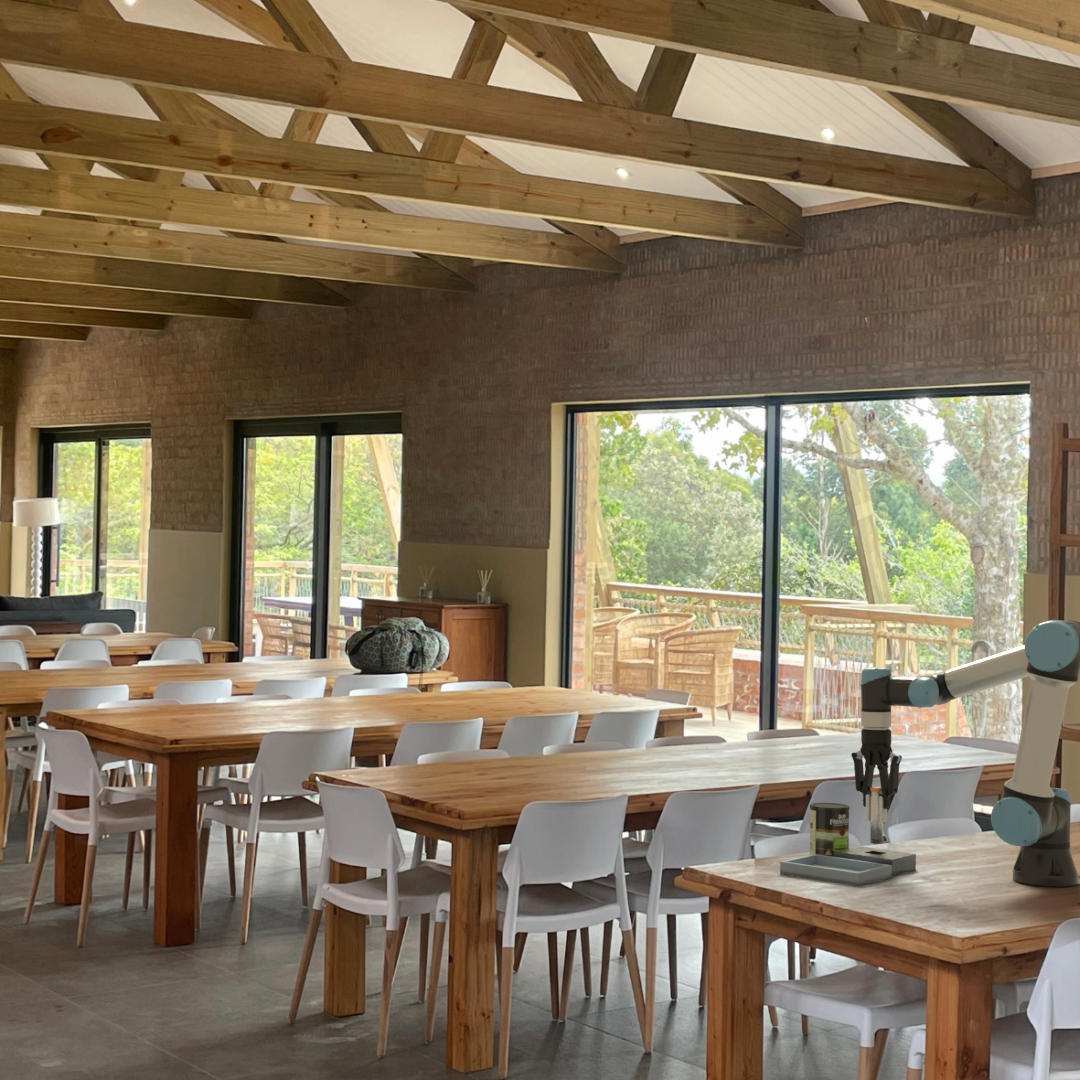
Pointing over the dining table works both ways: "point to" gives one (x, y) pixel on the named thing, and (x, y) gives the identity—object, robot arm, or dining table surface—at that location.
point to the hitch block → (881, 858)
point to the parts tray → (836, 869)
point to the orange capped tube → (875, 816)
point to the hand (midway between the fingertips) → (876, 820)
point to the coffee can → (829, 828)
